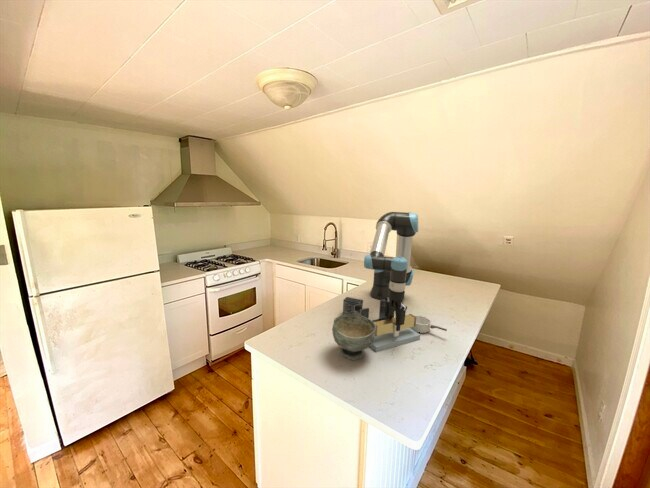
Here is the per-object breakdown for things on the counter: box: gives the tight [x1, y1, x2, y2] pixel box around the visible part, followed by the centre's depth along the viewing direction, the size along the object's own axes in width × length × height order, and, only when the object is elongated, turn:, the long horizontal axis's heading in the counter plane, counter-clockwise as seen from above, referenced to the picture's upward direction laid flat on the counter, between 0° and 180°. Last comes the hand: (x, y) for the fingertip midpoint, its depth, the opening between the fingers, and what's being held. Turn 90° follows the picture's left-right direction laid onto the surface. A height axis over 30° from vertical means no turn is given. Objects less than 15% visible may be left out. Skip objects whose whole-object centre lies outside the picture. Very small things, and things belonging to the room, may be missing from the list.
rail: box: [374, 313, 416, 336], centre depth 135 cm, size 4×26×5 cm, turn 117°
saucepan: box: [410, 314, 448, 334], centre depth 146 cm, size 12×20×6 cm, turn 45°
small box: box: [342, 296, 364, 315], centre depth 161 cm, size 11×6×10 cm, turn 65°
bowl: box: [331, 314, 376, 361], centre depth 122 cm, size 20×19×15 cm
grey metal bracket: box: [353, 299, 395, 322], centre depth 151 cm, size 7×24×12 cm, turn 117°
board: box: [369, 328, 421, 353], centre depth 136 cm, size 10×28×2 cm, turn 117°
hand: (392, 333), depth 136 cm, fingers closed on rail, 4 cm apart
